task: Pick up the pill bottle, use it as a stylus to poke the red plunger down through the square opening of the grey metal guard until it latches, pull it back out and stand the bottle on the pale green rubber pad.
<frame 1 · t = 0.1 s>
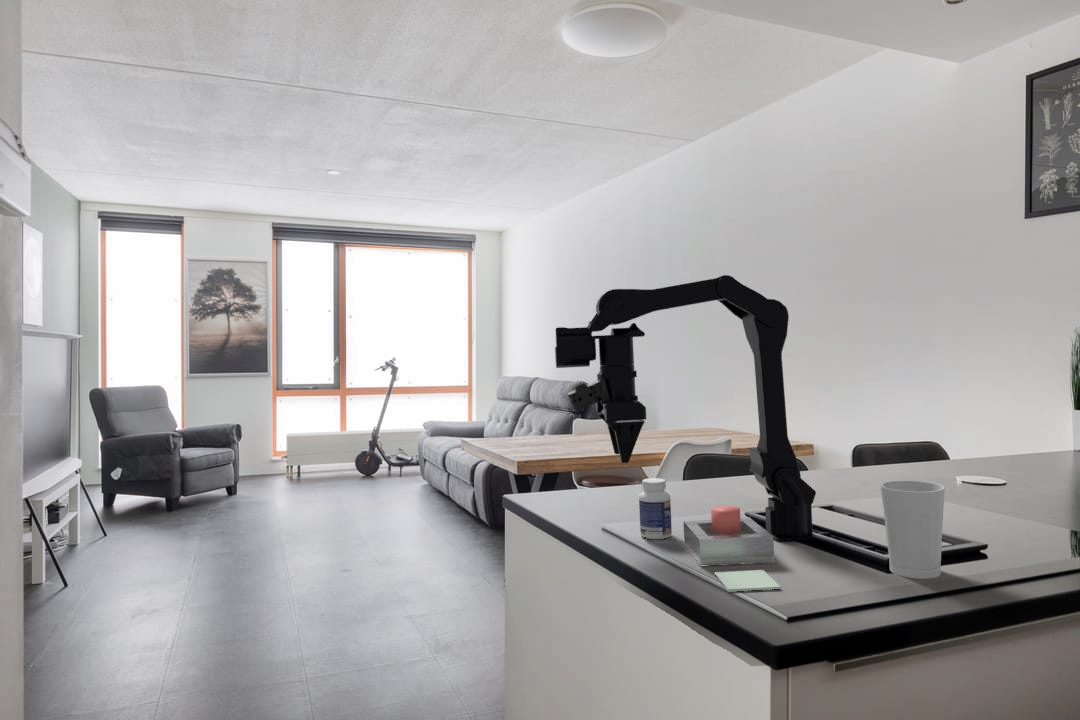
hand: (621, 458, 117), 14 cm above the countertop, fingers open, 9 cm apart
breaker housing: (727, 553, 110), on the countertop
pad: (746, 582, 97), on the countertop
cup: (914, 572, 98), on the countertop
pill bottle: (656, 537, 122), on the countertop
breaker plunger: (725, 519, 110), point 5 cm above the countertop, slide at 0.0 cm
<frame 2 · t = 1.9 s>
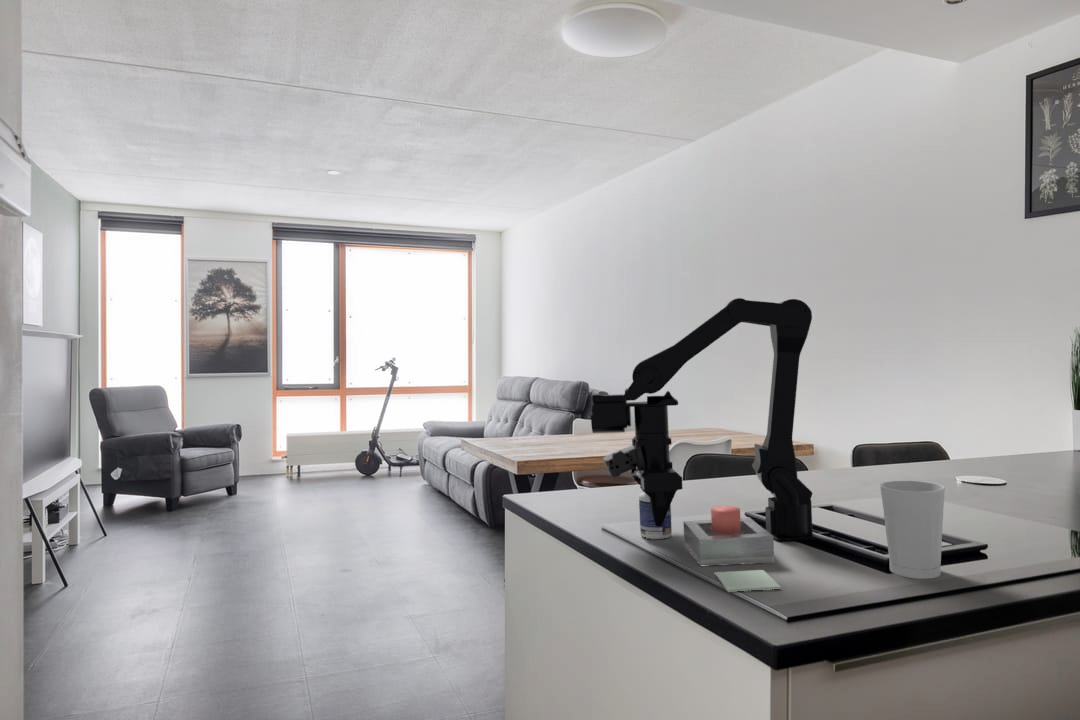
hand: (655, 521, 122), 3 cm above the countertop, fingers closed on pill bottle, 5 cm apart
pill bottle: (656, 537, 122), on the countertop, touching gripper
everything else where it was.
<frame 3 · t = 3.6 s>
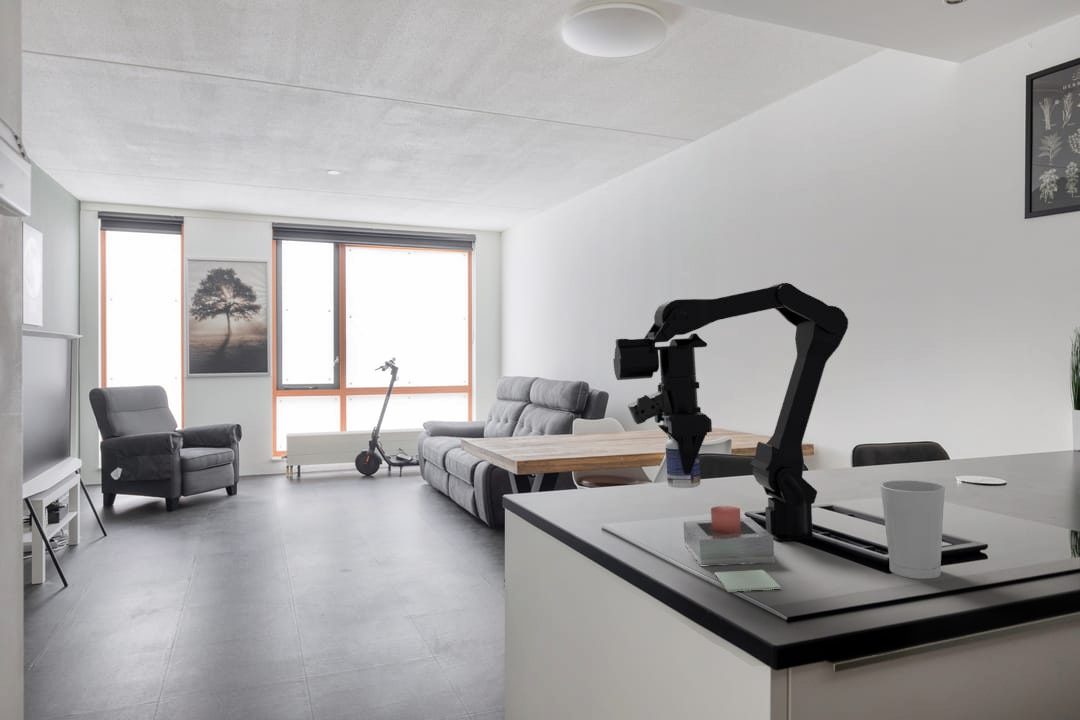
hand: (683, 470, 116), 12 cm above the countertop, fingers closed on pill bottle, 5 cm apart
pill bottle: (684, 486, 116), point 9 cm above the countertop, touching gripper
everything else where it was.
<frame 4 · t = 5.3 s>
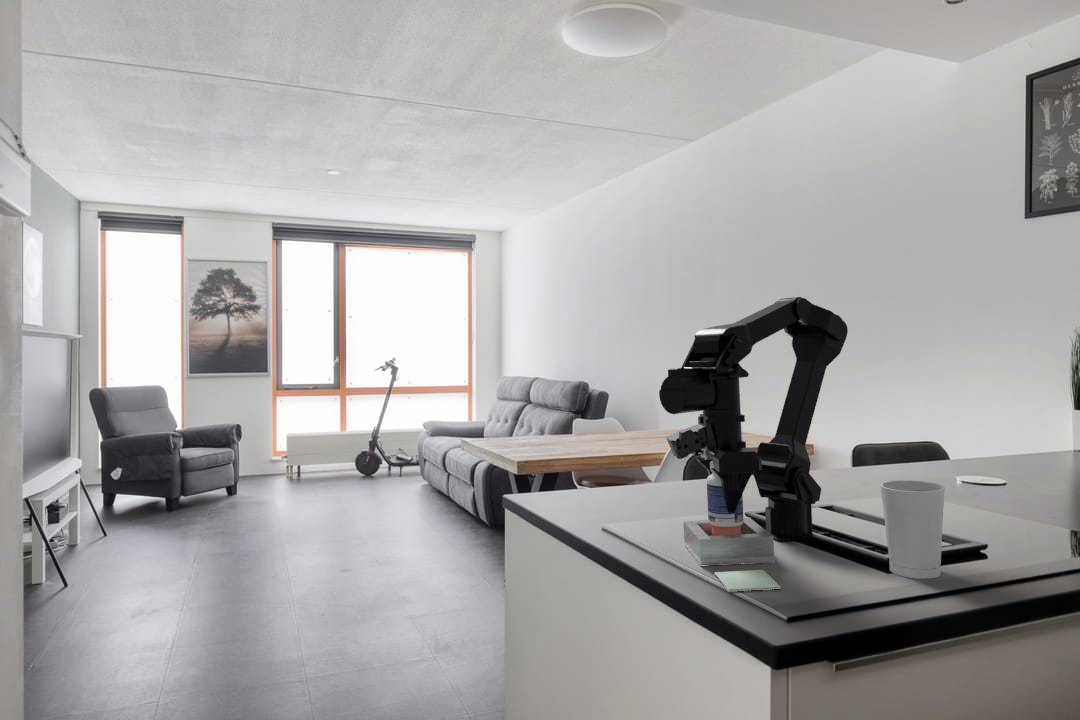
hand: (725, 507, 110), 7 cm above the countertop, fingers closed on pill bottle, 5 cm apart
pill bottle: (726, 525, 110), point 5 cm above the countertop, touching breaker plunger, gripper
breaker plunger: (726, 534, 110), point 3 cm above the countertop, slide at 2.3 cm, touching pill bottle
everything else where it was.
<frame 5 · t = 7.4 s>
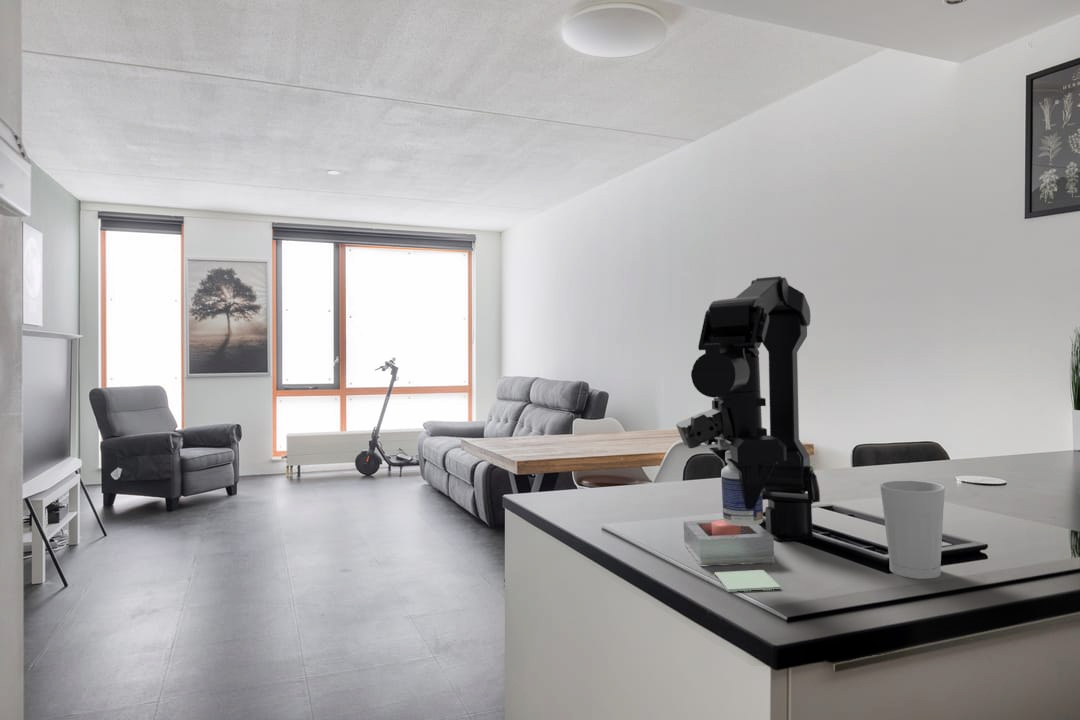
hand: (743, 503, 97), 11 cm above the countertop, fingers closed on pill bottle, 5 cm apart
pill bottle: (743, 523, 97), point 8 cm above the countertop, touching gripper
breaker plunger: (726, 534, 110), point 3 cm above the countertop, slide at 2.3 cm
everything else where it was.
when the fingers open (4 cm above the countertop, at t = 8.7 s): pill bottle stays where it is, resting on pad.
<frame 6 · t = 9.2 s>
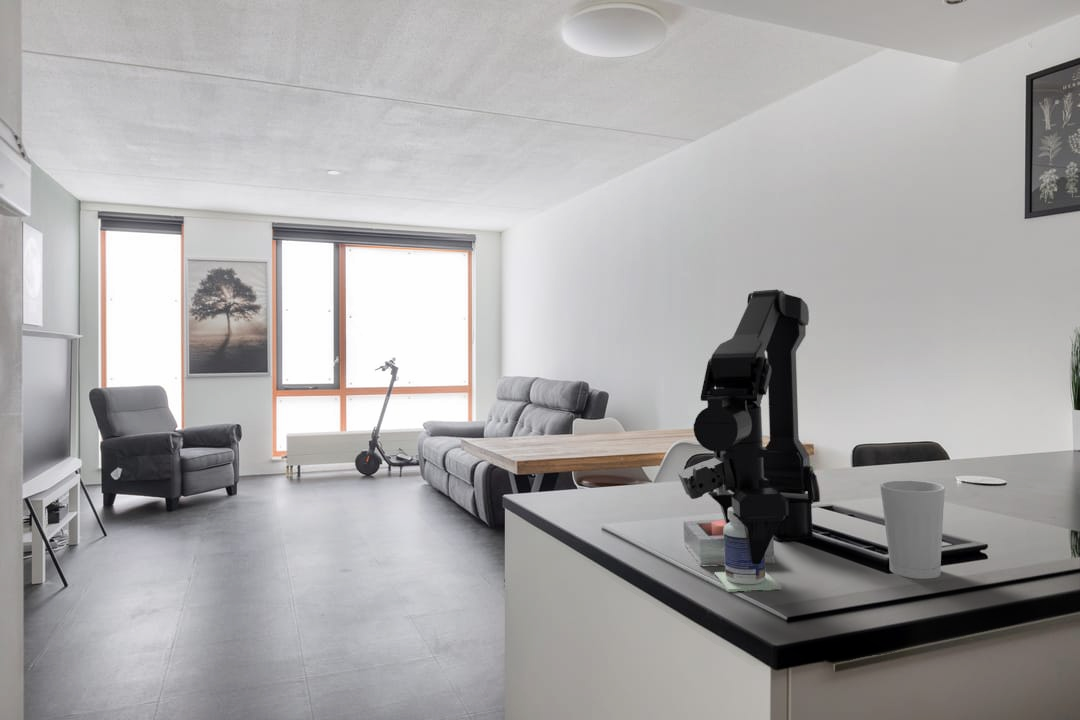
hand: (745, 553, 97), 4 cm above the countertop, fingers open, 9 cm apart
pill bottle: (745, 580, 97), resting on pad
everything else where it was.
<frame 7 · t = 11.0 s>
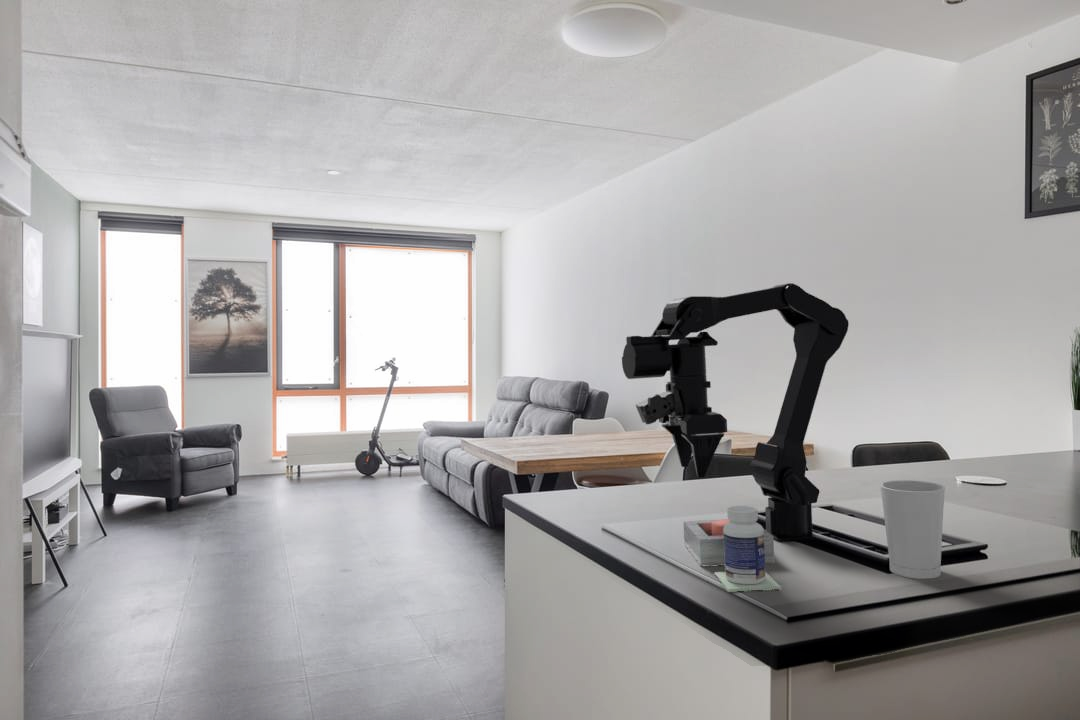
hand: (692, 471, 113), 12 cm above the countertop, fingers open, 9 cm apart
nothing on the countertop moved.
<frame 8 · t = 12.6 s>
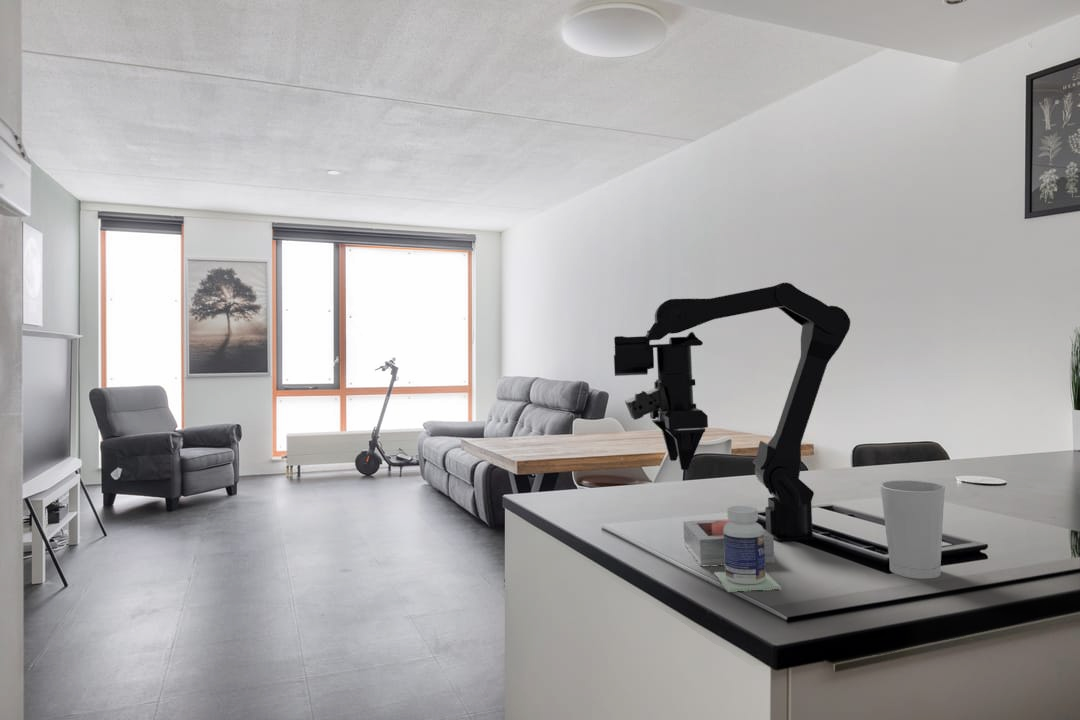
hand: (678, 465, 119), 12 cm above the countertop, fingers open, 9 cm apart
nothing on the countertop moved.
at the end: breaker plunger slide at 2.3 cm; pill bottle 0.1 cm from the pad (horizontally); pill bottle tilted 0° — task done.
